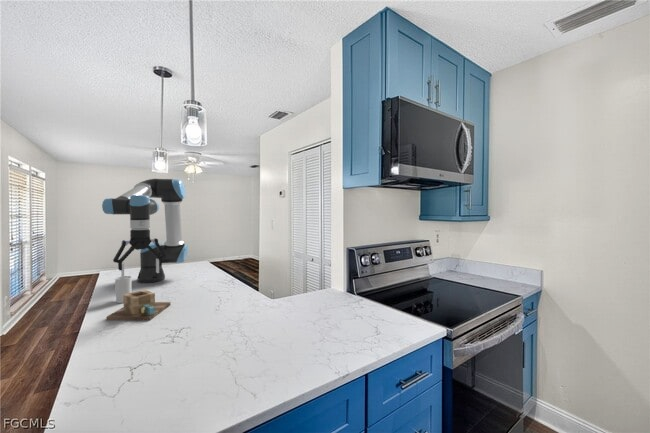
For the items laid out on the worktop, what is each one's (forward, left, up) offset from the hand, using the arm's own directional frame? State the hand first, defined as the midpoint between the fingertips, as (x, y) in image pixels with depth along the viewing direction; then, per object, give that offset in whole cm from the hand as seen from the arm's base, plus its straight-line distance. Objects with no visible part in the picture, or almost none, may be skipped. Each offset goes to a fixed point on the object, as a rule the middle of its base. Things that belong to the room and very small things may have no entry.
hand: (140, 274), depth 131 cm
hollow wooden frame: (+4, +3, -15) cm, 16 cm away
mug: (-13, -17, -17) cm, 28 cm away
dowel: (+9, +6, -15) cm, 19 cm away
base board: (+2, +1, -17) cm, 17 cm away
